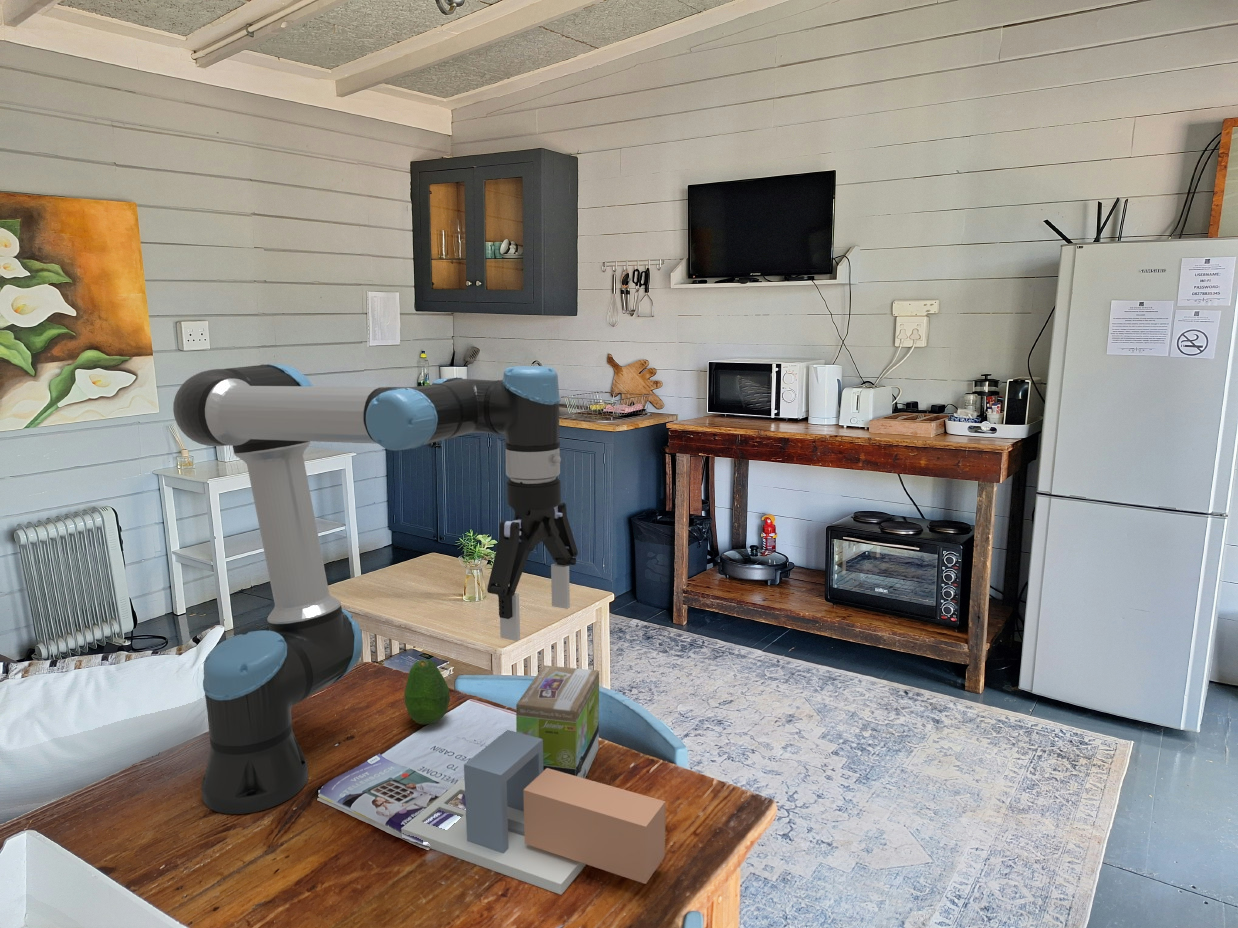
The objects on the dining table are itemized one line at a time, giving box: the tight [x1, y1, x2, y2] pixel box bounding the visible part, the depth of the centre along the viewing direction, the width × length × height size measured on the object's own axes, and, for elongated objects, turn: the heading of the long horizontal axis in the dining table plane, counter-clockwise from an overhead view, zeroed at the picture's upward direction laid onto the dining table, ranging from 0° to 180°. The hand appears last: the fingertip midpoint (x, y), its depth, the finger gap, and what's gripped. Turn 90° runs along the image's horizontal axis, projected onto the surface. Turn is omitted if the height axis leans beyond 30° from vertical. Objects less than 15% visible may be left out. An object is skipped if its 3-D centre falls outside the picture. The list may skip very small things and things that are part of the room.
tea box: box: [515, 664, 600, 779], centre depth 134 cm, size 15×10×15 cm
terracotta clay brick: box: [523, 768, 666, 885], centre depth 111 cm, size 18×6×8 cm, turn 63°
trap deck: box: [400, 729, 587, 896], centre depth 117 cm, size 26×14×13 cm, turn 63°
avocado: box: [403, 659, 451, 726], centre depth 149 cm, size 8×8×12 cm
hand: (536, 622), depth 121 cm, fingers open, 13 cm apart
